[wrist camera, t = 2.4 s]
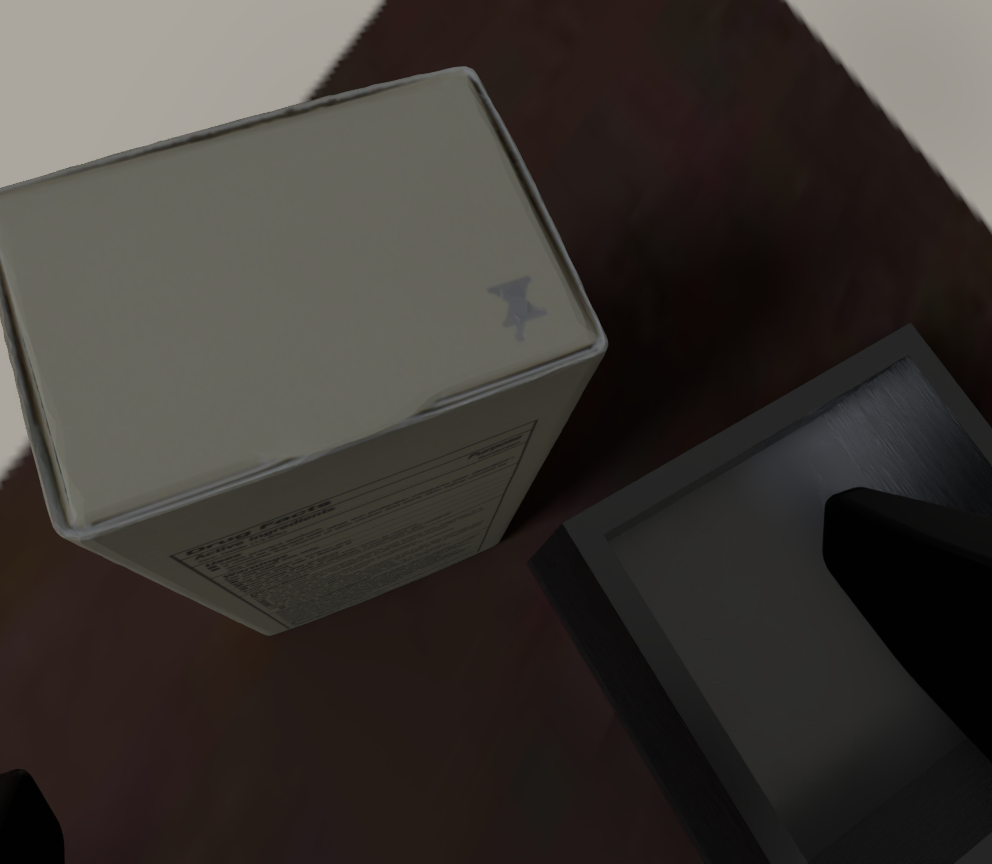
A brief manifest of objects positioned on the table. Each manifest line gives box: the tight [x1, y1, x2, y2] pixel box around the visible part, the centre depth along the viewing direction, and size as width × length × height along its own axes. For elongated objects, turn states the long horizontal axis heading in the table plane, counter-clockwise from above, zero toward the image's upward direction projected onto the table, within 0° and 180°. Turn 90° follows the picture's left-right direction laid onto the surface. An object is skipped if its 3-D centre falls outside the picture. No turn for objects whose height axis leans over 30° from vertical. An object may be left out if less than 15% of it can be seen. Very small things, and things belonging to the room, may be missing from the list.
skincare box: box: [0, 66, 608, 635], centre depth 15 cm, size 6×4×12 cm
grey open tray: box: [527, 323, 992, 864], centre depth 19 cm, size 10×10×4 cm
